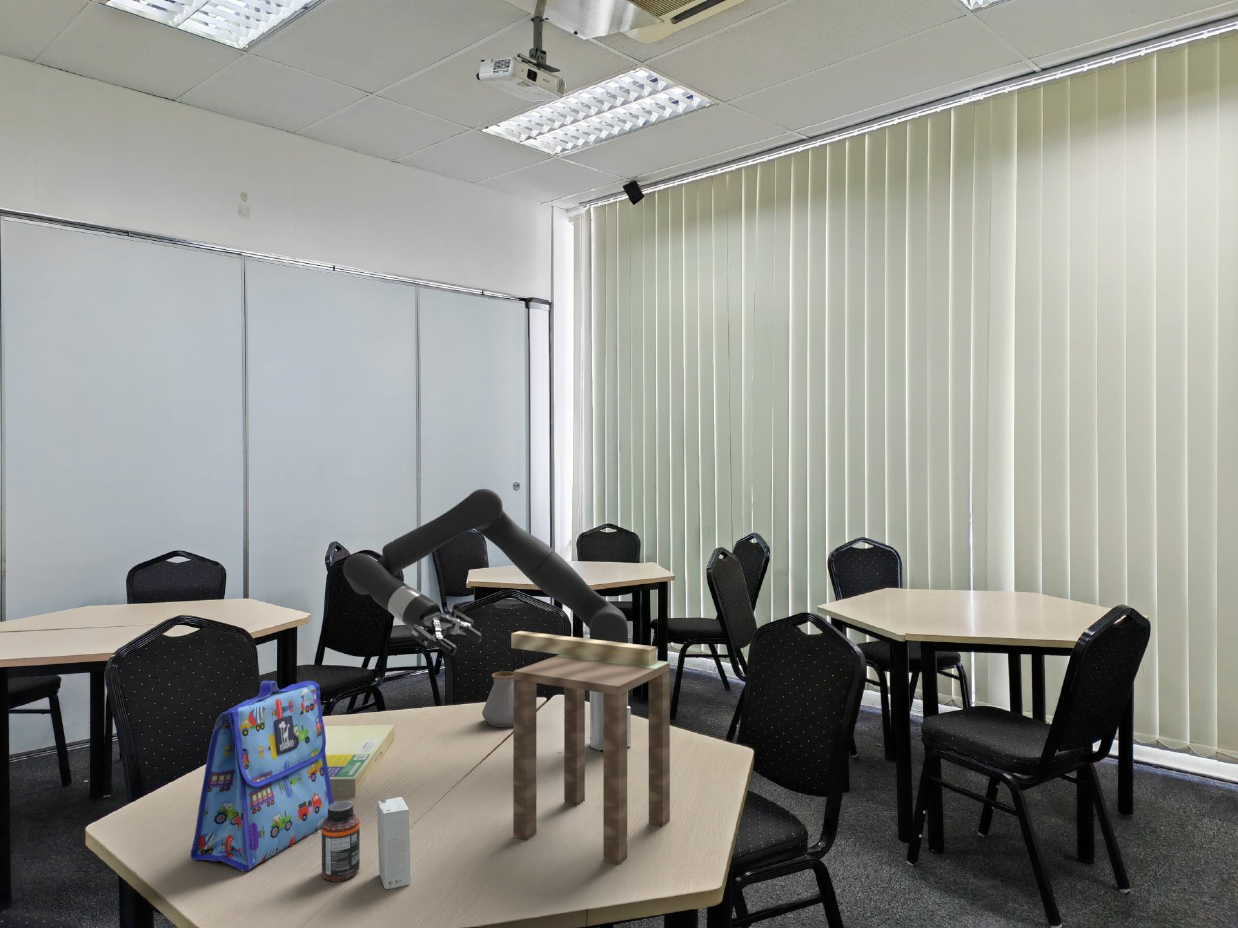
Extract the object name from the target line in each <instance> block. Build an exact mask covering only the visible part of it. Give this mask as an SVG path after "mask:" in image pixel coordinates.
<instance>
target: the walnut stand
mask: <svg viewBox="0 0 1238 928" xmlns="http://www.w3.org/2000/svg"><path fill="white" fill-rule="evenodd" d="M656 662H657V663H654V664H652V665H650V666H647V665H639V664H631V663H624V662H616V661H608V660H600V659H593V658H585V657H577V656H569V655H562V654H557V655H555V656H553V657H549V658H547V659H544V660H541V661H537V662H536V663H535V662H534V663H533V664H529V665H526V666H524V667H521V668H519V669H515V670H513V672H514V705H513V726H512V727H513V738H512V739H513V744H512V745H513V746H512V747H513V748H512V750H513V755H512V756H513V762H512V765H513V768H512V769H513V770H512V771H513V775H512V777H513V779H512V781H513V786H512V787H513V792H512V793H513V801H512V802H513V805H512V806H513V807H512V808H513V811H512V812H513V815H512V817H513V818H512V820H513V823H512V824H513V825H512V827H513V833H512V834H513V836H512V837H514V838H518V839H522V840H525V841H528V840H529V839H530V838H532V837H534V836H536V835H537V695H538V694H537V693H538V692H537V691H538V690H537V684H542V685H547V686H555V687H562V688H563V689H564V690H563V692H564V693H563V694H564V695H563V696H564V699H563V701H564V707H563V710H564V712H563V714H564V715H563V717H564V720H563V726H564V728H563V729H564V730H563V731H564V734H563V740H564V741H563V742H564V744H563V745H564V746H563V747H564V749H563V753H564V755H563V758H564V759H563V761H564V762H563V763H564V765H563V768H564V771H563V772H564V773H563V775H564V776H563V786H564V787H563V789H564V790H563V794H564V795H563V799H564V800H563V801H564V802H563V803H564V804H566V803H567V805H572V806H575V807H577V805H578V806H579V805H581V804H582V803H583V801H584V802H585V801H586V691H588V692H590V691H593V692H600V693H603V751H602V752H603V759H602V760H603V777H602V778H603V792H602V793H603V796H602V797H603V804H602V805H603V807H602V808H603V810H602V811H603V814H602V817H603V829H602V830H603V835H602V836H603V846H602V847H603V852H602V853H603V862H606V863H611V864H615V865H620V864H621V863H623V862H624V861H625V860H626V859H627V858H628V747H627V691H628V692H629V691H630V690H633V689H634V688H636V687H639V686H640V685H642V684H644V683H647V682H648V823H649V824H651V823H652V825H656V826H659V827H664V826H665V825H666V824H667V823H669V822H670V821H671V807H670V806H671V790H670V789H671V783H670V782H671V763H670V761H671V752H670V751H671V741H670V740H671V736H670V735H671V734H670V733H671V732H670V731H671V728H670V727H671V726H670V725H671V722H670V720H671V719H670V718H671V717H670V715H671V712H670V711H671V708H670V707H671V705H670V703H671V702H670V701H671V698H670V697H671V692H670V691H671V688H670V687H671V686H670V685H671V684H670V683H671V681H670V677H671V675H670V674H671V668H670V666H671V665H670V661H664V660H657V659H656ZM580 803H581V804H580ZM669 820H670V821H669Z"/></svg>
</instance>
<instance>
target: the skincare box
mask: <svg viewBox="0 0 1238 928" xmlns="http://www.w3.org/2000/svg"><path fill="white" fill-rule="evenodd" d="M376 809H377V836H378V838H377V839H378V840H377V841H378V843H377V844H378V872H379V873H378V874H379V876H380V879H381V882H382V884H383V888H384V889H385V890H391V889H396V888H401V887H405V886H408V885H411V880H412V879H411V847H410V846H411V843H410V809H409V807H408V805H407V804H406V801H404V798H403V797H402V796H399V797H393V798H389V799H383V800H379V801H377V808H376Z"/></svg>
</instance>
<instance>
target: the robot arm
mask: <svg viewBox="0 0 1238 928" xmlns="http://www.w3.org/2000/svg"><path fill="white" fill-rule="evenodd" d="M472 530H474V531H476V532H478V533H479V534H481V535H482V536H483V537H485V538H486V539H487V540H489V541H490V542H491V543H492V544H494V545H495V546H496V547H498V548H499V549H500V551H501V552H502V553H504V554H505V556H506V557H507V558H508V559H509V560H510V561H511V563H513V565H514V566H515V567H516V568H517V569H518V570H519V571H520V572H521V573H522V574H524V576H526V578H528V579H529V581H530V582H532V583H533V584H534V585H535V586H536V587H537V588H538V589H539V590H541V591H542V592H543V593H544V594H546V595H548V597H550V598H552V599H554V600H555V601H557V602H558V603H560V604H562V605H563V606H565V607H566V608H568V609H569V610H571V612H573V614H575V615H576V617H578V618H579V619H580V620H581V621H582V623H584V624H585V626H586V627H587V628H588V629H589V639H594V640H602V641H611V642H619V643H628V644H629V625H628V620H627V617H626V616H625V614H624V612H623V611H622V610H621V609H619V608H617V607H616V606H615V605H613V603H611V602H609V600H606V599H605V598H604V597H602V595H600V594H599V593H597V591H595V590H594V589H593V588H592V587H591V586H589V584H587V583H586V581H585V580H584V579H583V578H582V577H581V575H579V573H578V572H577V571H576V570H575V569H574V568H573V567H572V566H571V565H570V564H569V563H568V562H567V561H566V560H565V559H564V558H563V557H562V556H561V555H560V554H559V553H557V551H556V550H554V549H553V548H552V547H551V546H549V544H547V543H546V542H544V541H543V540H541V539H539V538H537V537H536V536H534V535H533V534H531V533H529V532H527V531H526V530H525V529H523V528H521V527H520V526H519V525H518V524H517V523H516V522H515V521H514V520H513V519H512V518H511V517H510V516H509V515H508V514H507V513H506V511H504V509H503V501H502V499H501V497H500V495H499V494H498V493H497V492H495V491H493V490H491V489H488V488H480V489H475V490H474V491H473V492H471V493H470V494H469V495H467V497H465V498H463V500H461V501H460V502H459V503H457V504H456V505H455V506H453V507H452V508H450V509H449V510H447V511H446V512H445V513H442V514H441V515H439V516H437V517H436V518H435V519H433V520H429V522H427V523H425V524H423V525H421V526H419V527H417V528H415V529H412V530H411V531H409V532H407V533H405V534H403V535H402V536H399V537H398V538H395V539H393V540H392V541H390V542H388V543H386V544H385V545H383V547H382V549H381V553H382V554H381V557H379V558H378V559H375V558H373V557H372V556H370V555H368V554H366V553H354V554H352V555H350V556H348V557H347V559H345V561H344V563H343V568H342V570H343V571H342V572H343V575H344V577H345V579H346V580H347V582H348V583H349V585H350V586H351V587H350V588H352V590H354V592H356V593H357V594H360V595H370V597H371V598H372V599H373V600H374V602H375V603H377V604H378V605H379V606H381V608H383V609H384V610H385V611H388V612H389V613H391V614H392V616H393V617H394V618H396V619H397V620H398V621H400V622H401V623H403V624H404V625H405V626H407V627H409V628H410V629H412V630H411V634H410V637H412V639H414V640H415V641H417V643H419V644H421V645H422V646H423V647H425V648H426V649H428V650H431V649H432V648H435V649H440V650H442V651H443V652H445V653H446V654H447V655H450V656H454V655H456V653H457V650H458V647H457V646H456V644H454V643H452V642H451V641H450V640H448V639H446V638H444V636H446V635H450V634H451V635H455V636H456V635H457V634H459V635H462V636H463V635H464V636H465V637H466V638H468V639H470V641H472V642H473V643H476V644H479V643H481V641H482V638H483V635H482V633H481V632H480V631H478V630H476V629H475V628H474V627H473V625H474V620H473V619H472V618H470V617H468V616H467V615H466V614H464V613H462V612H460V611H458V609H451V612H450V613H449V614H448V613H445V612H443V611H442V609H441V608H440V607H441V606H440V604H439V603H438V602H435V601H434V600H432V599H431V598H430V597H428V596H427V595H425V594H424V593H422V592H420V591H419V590H417V589H416V588H414V587H411V586H410V585H408V584H407V583H405V582H404V581H402V580H400V579H399V578H397V577H396V575H398V573H400V571H402V570H404V569H406V568H408V567H410V566H411V565H414V564H416V563H417V562H420V561H421V560H423V559H424V558H426V557H427V556H429V555H430V554H432V553H434V552H435V551H436V550H438V549H439V548H441V547H442V546H443V545H445V544H446V543H448V542H449V541H451V540H454V538H456V537H458V536H460V535H462V534H464V533H467V532H469V531H472ZM454 624H455V626H454ZM461 628H462V629H461ZM628 692H629V691H627V746H628V745H632V744H631V743H632V742H631V741H632V737H631V736H632V734H631V732H632V728H631V727H632V726H631V725H632V721H631V719H632V718H631V717H632V716H631V715H632V712H631V711H632V710H631V709H632V708H631V706H630V705H629V703H628V702H629V699H628V698H629V693H628ZM589 746H590V748H592V749H593V748H594V749H593V750H595V749H596V751H600V750H603V693H600V692H593V691H589Z"/></svg>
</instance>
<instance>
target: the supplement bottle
mask: <svg viewBox="0 0 1238 928" xmlns="http://www.w3.org/2000/svg"><path fill="white" fill-rule="evenodd" d="M354 811H355V809H354V803H353V801H350V800H339V801H335V802H334V801H333V803H332V804H330V805H329V806H328V817H327V818H326V819H325V820H324V821H323V823H322V827H321V875H322V878H324V879H325V880H327V881H331V882H342V881H346V880H348V879H350V878H352V877H354V876H356V875H357V874H358V873H359V870H360V864H361V863H360V862H361V861H360V850H361V849H360V848H361V847H360V846H361V845H360V843H361V842H360V841H361V840H360V836H361V835H360V831H361V830H360V818H359V816H358V815H357V814H356V813H354Z"/></svg>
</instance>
